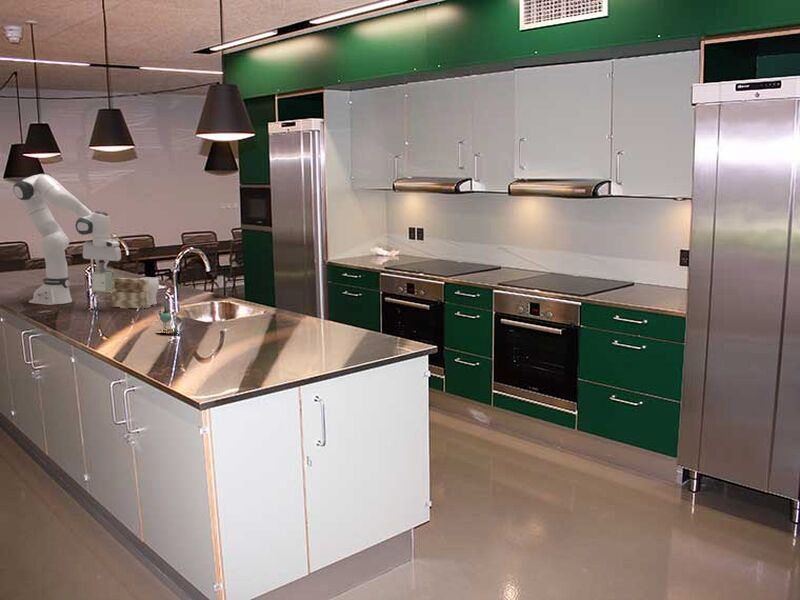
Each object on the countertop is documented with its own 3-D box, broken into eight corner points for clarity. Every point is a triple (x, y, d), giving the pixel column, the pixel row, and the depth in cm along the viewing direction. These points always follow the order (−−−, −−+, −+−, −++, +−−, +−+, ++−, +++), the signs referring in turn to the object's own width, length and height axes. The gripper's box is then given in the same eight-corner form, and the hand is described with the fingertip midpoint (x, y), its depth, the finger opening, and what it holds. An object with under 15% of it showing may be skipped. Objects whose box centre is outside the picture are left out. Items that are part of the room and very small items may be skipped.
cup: (162, 303, 432) (161, 277, 430) (154, 306, 422) (154, 280, 419) (144, 302, 433) (143, 276, 431) (136, 305, 423) (135, 279, 420)
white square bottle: (91, 291, 402) (91, 263, 399) (100, 288, 411) (100, 261, 408) (105, 292, 401) (105, 264, 398) (114, 289, 410) (114, 262, 408)
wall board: (110, 307, 416) (109, 278, 413) (116, 305, 423) (115, 277, 420) (144, 309, 413) (143, 280, 410) (150, 307, 420) (150, 278, 417)
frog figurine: (165, 338, 347) (162, 306, 346) (149, 335, 361) (146, 305, 359) (185, 335, 354) (182, 304, 352) (168, 333, 367) (165, 302, 366)
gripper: (80, 241, 399) (80, 267, 401) (116, 244, 396) (116, 270, 399) (86, 240, 405) (86, 266, 407) (122, 243, 403) (122, 268, 405)
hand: (101, 268), depth 403 cm, fingers closed on white square bottle
